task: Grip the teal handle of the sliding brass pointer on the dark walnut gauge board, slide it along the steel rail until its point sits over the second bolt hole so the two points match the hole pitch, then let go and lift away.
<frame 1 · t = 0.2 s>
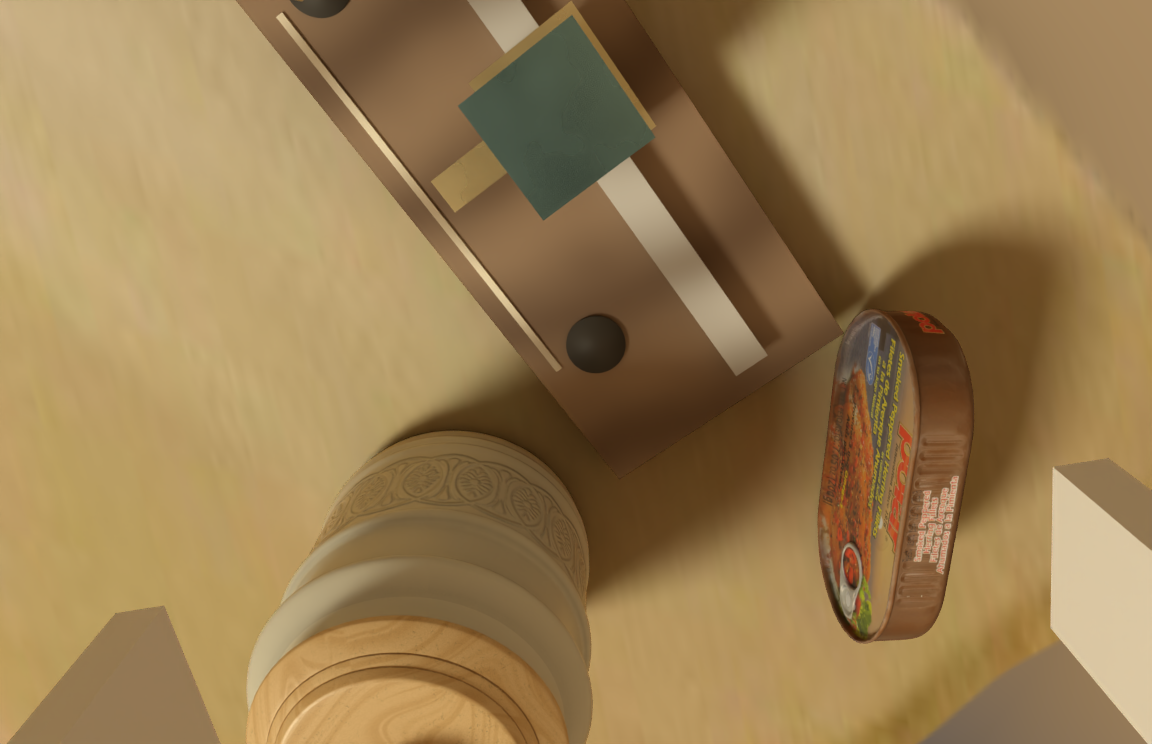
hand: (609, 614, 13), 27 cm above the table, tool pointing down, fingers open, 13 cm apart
slider: (520, 140, 28), point 9 cm above the table, slide at 9.0 cm
gauge board: (527, 126, 36), on the table
tin: (856, 437, 41), on the table
jar: (461, 538, 43), on the table
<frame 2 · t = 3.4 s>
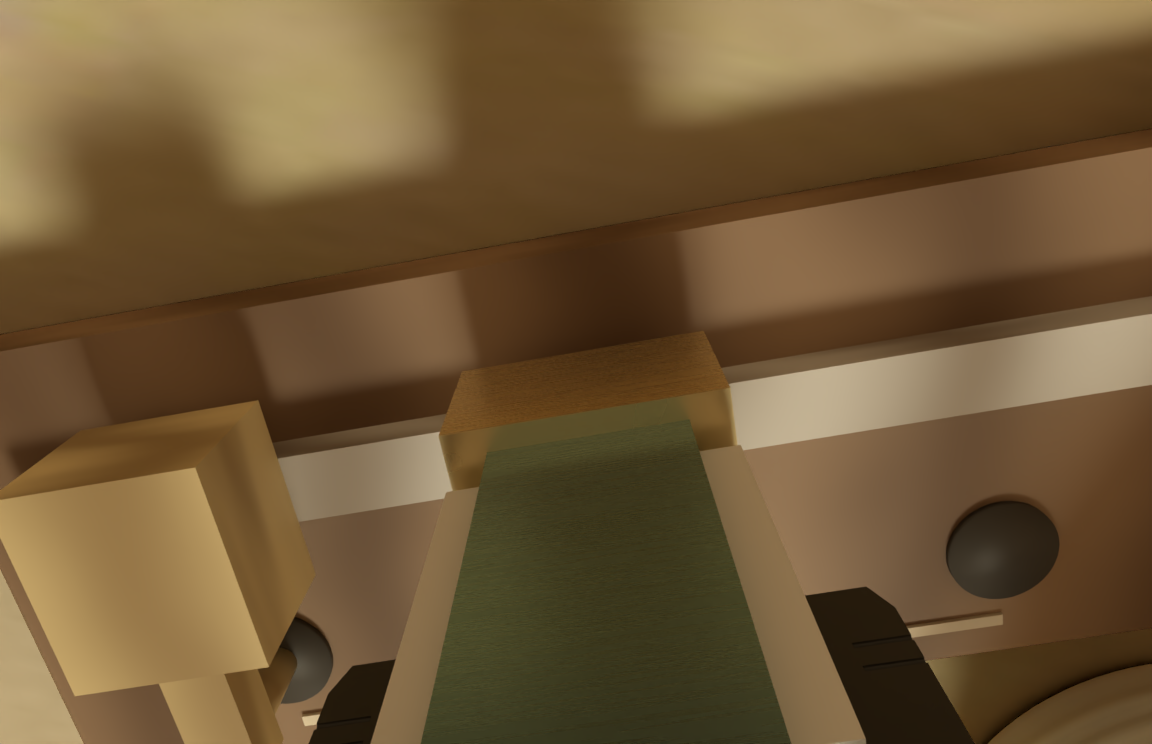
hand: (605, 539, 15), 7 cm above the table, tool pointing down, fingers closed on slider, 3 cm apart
slider: (626, 697, 13), point 9 cm above the table, slide at 9.0 cm, touching gripper
gauge board: (609, 460, 22), on the table
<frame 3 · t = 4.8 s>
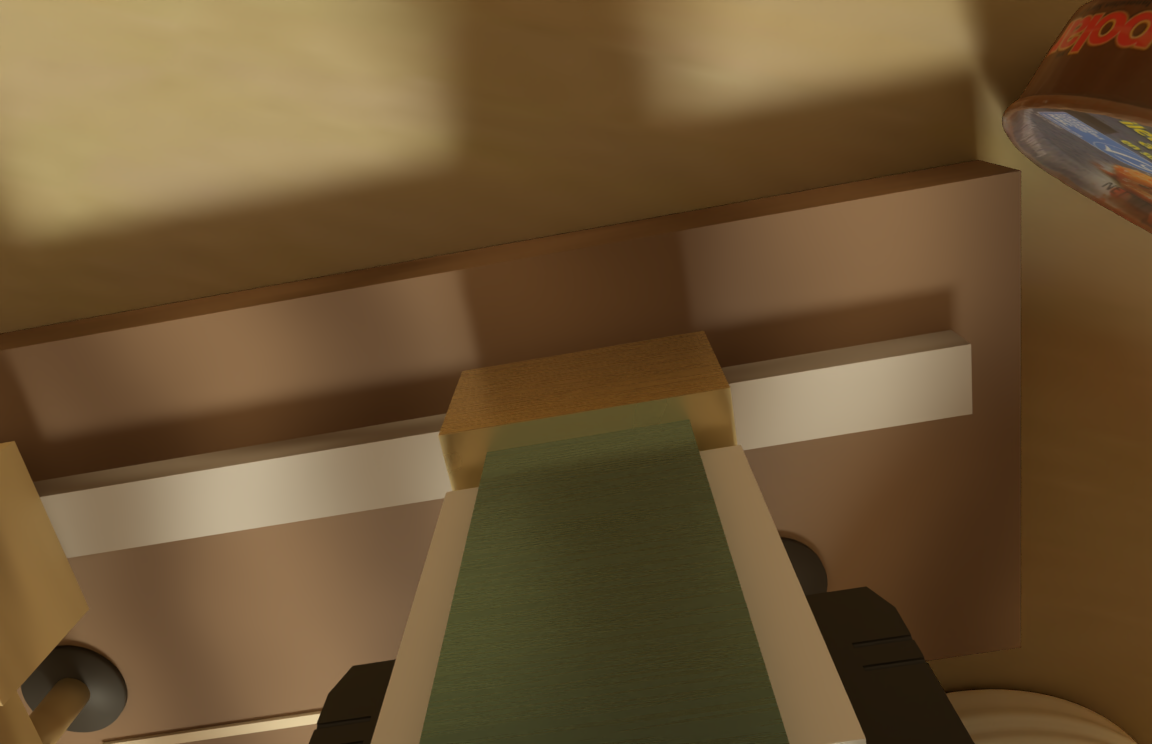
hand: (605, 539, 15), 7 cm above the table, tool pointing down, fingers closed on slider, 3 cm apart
slider: (626, 697, 13), point 9 cm above the table, slide at 14.5 cm, touching gripper
gauge board: (401, 494, 22), on the table
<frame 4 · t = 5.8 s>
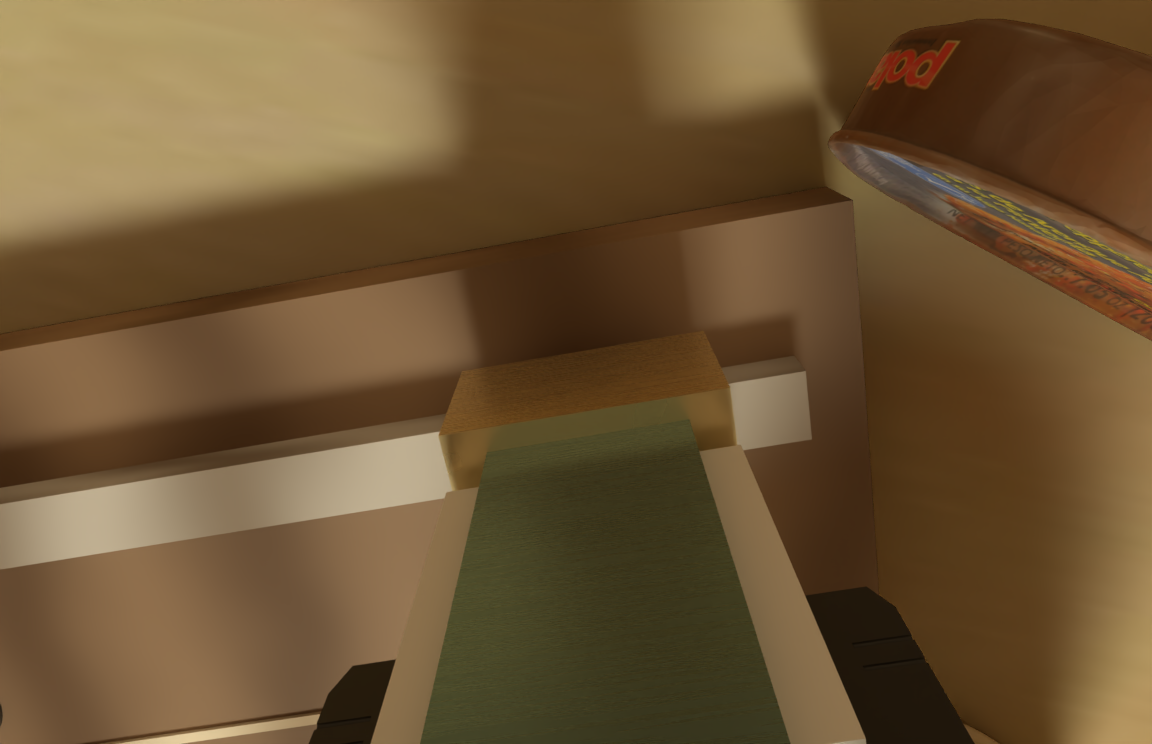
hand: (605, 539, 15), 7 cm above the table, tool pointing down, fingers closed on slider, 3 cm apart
slider: (626, 697, 13), point 9 cm above the table, slide at 18.0 cm, touching gripper
gauge board: (275, 514, 23), on the table
tin: (1083, 223, 20), on the table
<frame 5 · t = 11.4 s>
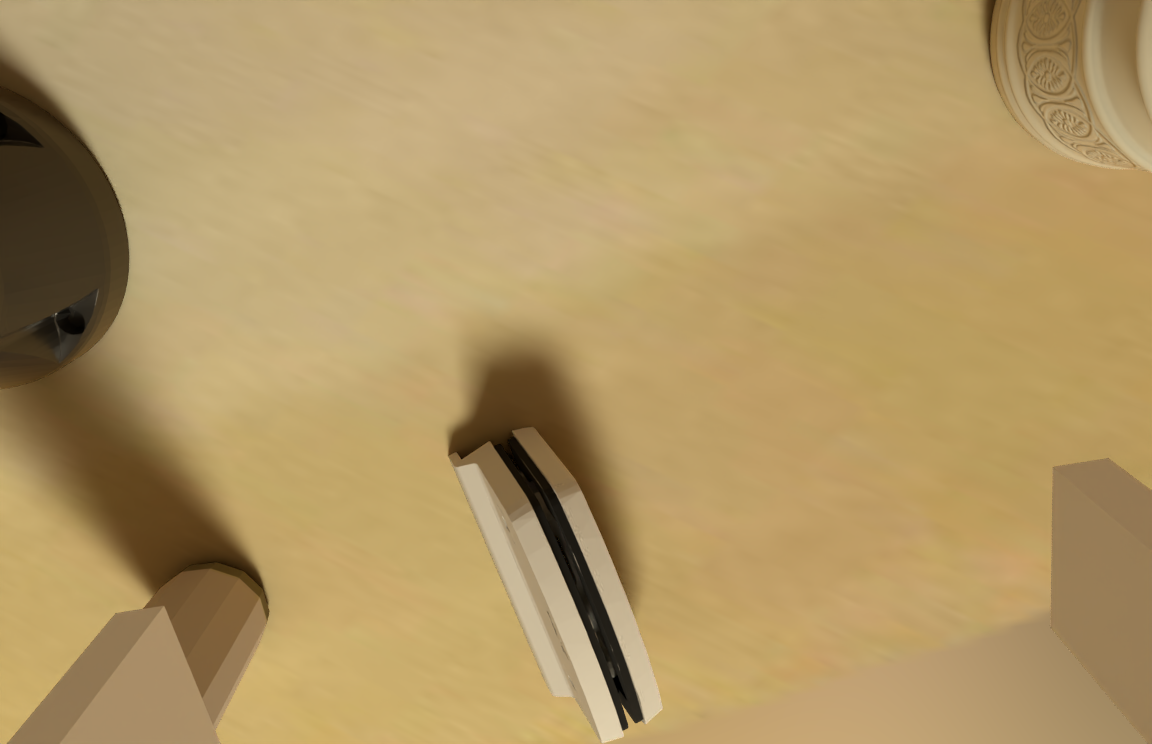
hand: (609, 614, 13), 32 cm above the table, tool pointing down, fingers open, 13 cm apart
hinge: (562, 551, 49), on the table
bottle: (221, 599, 50), on the table
jar: (1121, 19, 39), on the table
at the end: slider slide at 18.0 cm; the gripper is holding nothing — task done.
